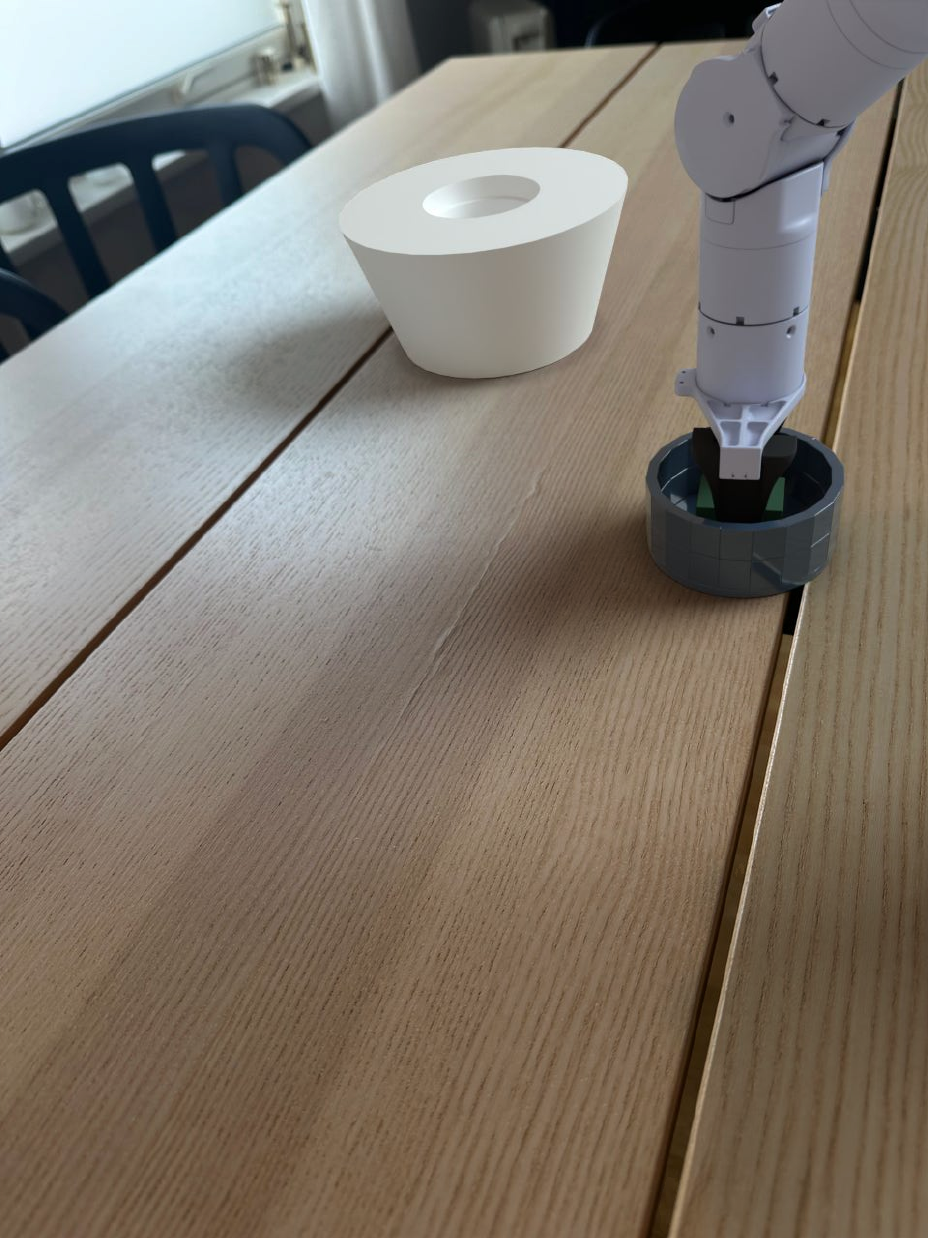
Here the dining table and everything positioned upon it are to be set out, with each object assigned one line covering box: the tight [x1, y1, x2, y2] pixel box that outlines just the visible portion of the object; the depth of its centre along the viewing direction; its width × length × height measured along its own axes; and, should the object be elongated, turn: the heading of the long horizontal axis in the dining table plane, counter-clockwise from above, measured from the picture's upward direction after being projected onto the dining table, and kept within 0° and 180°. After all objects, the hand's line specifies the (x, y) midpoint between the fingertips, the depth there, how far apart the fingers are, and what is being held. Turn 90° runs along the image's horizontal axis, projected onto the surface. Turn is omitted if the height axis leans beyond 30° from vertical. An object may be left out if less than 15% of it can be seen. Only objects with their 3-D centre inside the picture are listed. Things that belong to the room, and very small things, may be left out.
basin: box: [644, 426, 845, 599], centre depth 60 cm, size 11×11×5 cm
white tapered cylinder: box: [337, 146, 629, 379], centre depth 85 cm, size 24×24×12 cm
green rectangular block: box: [696, 475, 785, 522], centre depth 61 cm, size 5×4×3 cm
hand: (740, 512), depth 61 cm, fingers closed on green rectangular block, 3 cm apart
